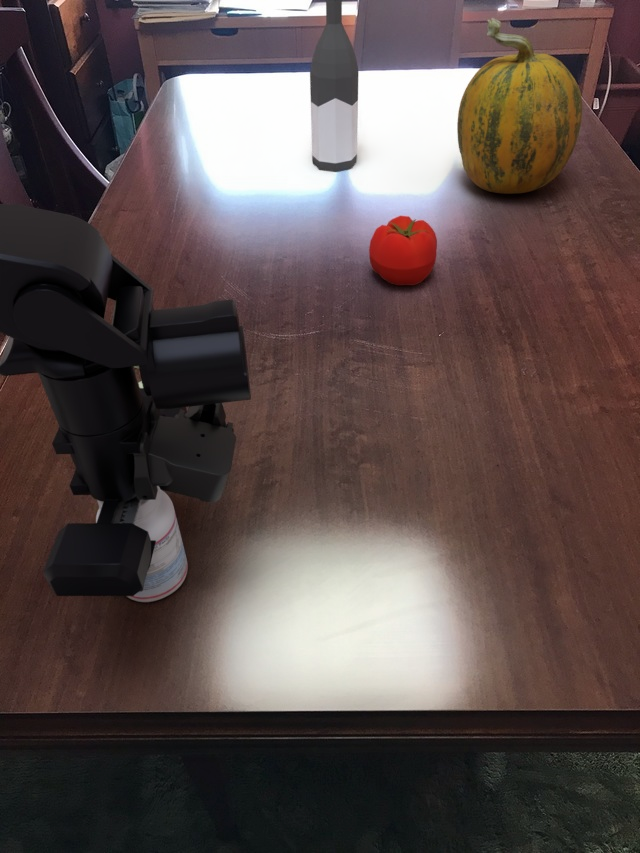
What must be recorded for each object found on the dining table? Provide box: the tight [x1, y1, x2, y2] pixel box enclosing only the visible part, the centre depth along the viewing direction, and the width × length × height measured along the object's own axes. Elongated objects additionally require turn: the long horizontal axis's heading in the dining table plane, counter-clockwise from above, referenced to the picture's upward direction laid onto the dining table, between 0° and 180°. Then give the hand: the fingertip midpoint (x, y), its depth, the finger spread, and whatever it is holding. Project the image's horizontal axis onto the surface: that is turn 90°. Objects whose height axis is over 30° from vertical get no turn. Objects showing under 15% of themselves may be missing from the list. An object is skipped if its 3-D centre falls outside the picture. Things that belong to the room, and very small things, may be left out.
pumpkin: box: [456, 17, 583, 195], centre depth 108 cm, size 19×19×25 cm
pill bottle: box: [95, 486, 189, 603], centre depth 56 cm, size 6×6×11 cm
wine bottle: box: [309, 0, 359, 173], centre depth 114 cm, size 8×8×30 cm
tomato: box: [368, 215, 438, 286], centre depth 93 cm, size 9×9×8 cm
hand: (147, 549), depth 57 cm, fingers closed on pill bottle, 7 cm apart
